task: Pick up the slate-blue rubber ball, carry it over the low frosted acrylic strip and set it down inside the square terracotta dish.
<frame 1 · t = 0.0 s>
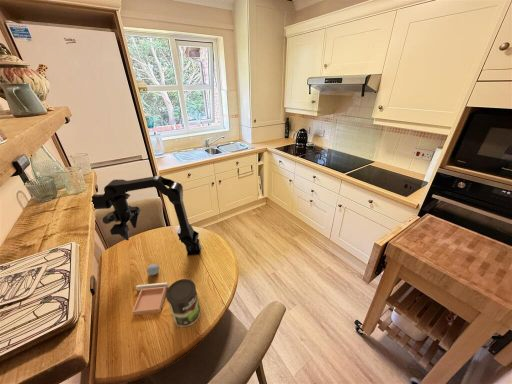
hand: (131, 233, 104), 15 cm above the table, fingers open, 9 cm apart
wall: (153, 288, 94), on the table
ball: (154, 273, 101), on the table
coffee can: (187, 313, 84), on the table
dish: (150, 301, 88), on the table
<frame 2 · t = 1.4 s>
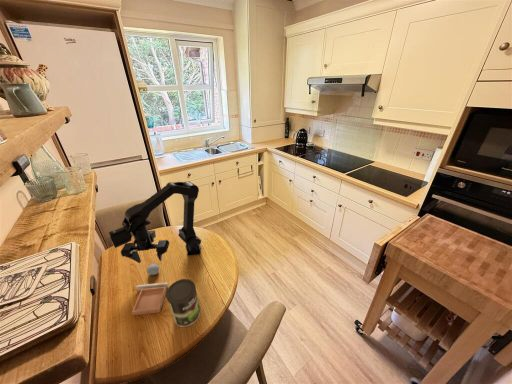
hand: (150, 261, 98), 8 cm above the table, fingers open, 9 cm apart
nothing on the table moved.
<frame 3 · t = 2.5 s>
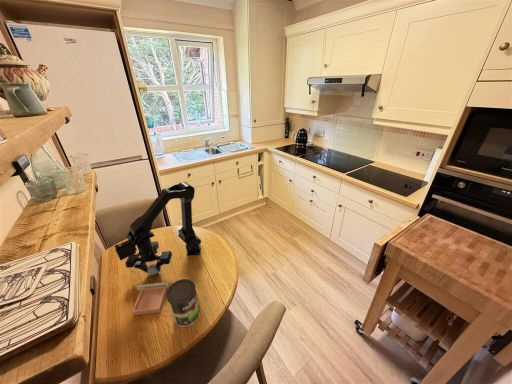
hand: (153, 271, 101), 1 cm above the table, fingers closed on ball, 5 cm apart
ball: (154, 273, 101), on the table, touching gripper
everything else where it was.
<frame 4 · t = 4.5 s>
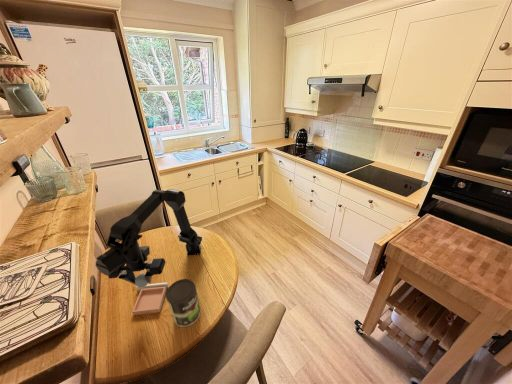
hand: (143, 282, 83), 11 cm above the table, fingers closed on ball, 5 cm apart
ball: (143, 284, 84), point 10 cm above the table, touching gripper
everything else where it was.
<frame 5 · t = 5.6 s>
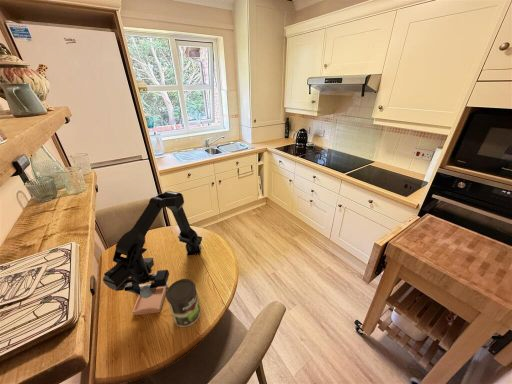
hand: (147, 293, 86), 5 cm above the table, fingers closed on ball, 5 cm apart
ball: (148, 295, 86), point 4 cm above the table, touching gripper
everything else where it was.
when the fingers open (3 cm above the table, at t = 6.4 s): ball drops 1 cm, resting on dish.
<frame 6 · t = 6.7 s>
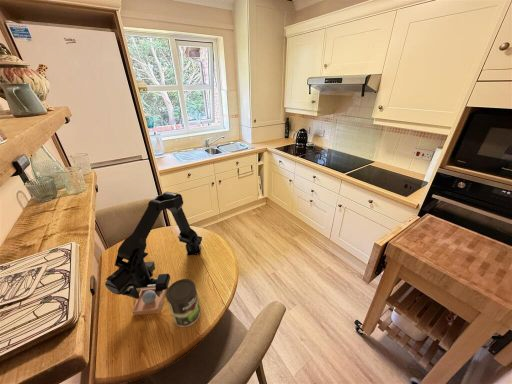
hand: (149, 297, 87), 3 cm above the table, fingers open, 8 cm apart
ball: (150, 300, 88), point 1 cm above the table, touching dish
everything else where it was.
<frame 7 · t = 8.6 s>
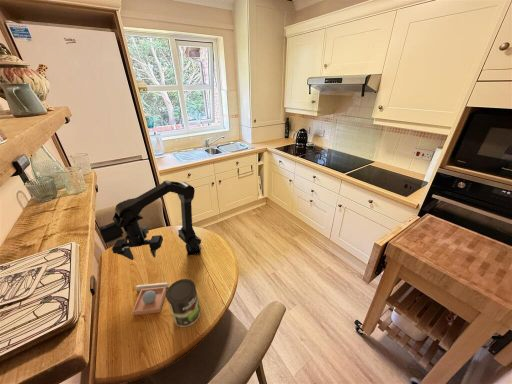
hand: (143, 258, 94), 12 cm above the table, fingers open, 9 cm apart
nothing on the table moved.
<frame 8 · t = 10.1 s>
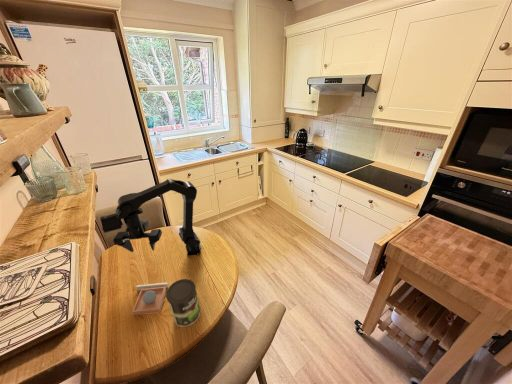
hand: (143, 250, 98), 12 cm above the table, fingers open, 9 cm apart
nothing on the table moved.
at the end: ball inside the target area on the dish (0.0 cm from its centre), point 0.6 cm above the dish's base; the gripper is holding nothing; ball point 0.6 cm above the table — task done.
